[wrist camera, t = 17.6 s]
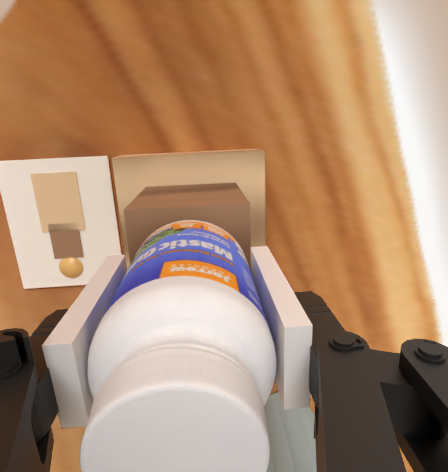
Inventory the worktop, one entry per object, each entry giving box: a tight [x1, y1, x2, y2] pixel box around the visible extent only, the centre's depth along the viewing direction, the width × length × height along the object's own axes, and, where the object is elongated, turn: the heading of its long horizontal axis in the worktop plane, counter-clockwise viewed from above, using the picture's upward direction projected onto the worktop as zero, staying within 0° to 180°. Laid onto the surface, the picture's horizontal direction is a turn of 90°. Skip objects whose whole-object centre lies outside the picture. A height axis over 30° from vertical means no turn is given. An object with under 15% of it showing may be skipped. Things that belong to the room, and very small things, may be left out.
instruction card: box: [0, 156, 122, 289], centre depth 26 cm, size 10×8×1 cm
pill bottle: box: [80, 220, 276, 472], centre depth 12 cm, size 5×5×10 cm
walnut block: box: [124, 183, 251, 271], centre depth 20 cm, size 6×6×7 cm
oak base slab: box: [112, 148, 266, 270], centre depth 25 cm, size 10×10×3 cm
